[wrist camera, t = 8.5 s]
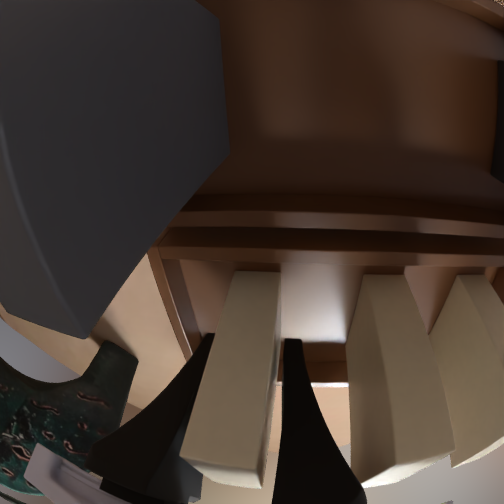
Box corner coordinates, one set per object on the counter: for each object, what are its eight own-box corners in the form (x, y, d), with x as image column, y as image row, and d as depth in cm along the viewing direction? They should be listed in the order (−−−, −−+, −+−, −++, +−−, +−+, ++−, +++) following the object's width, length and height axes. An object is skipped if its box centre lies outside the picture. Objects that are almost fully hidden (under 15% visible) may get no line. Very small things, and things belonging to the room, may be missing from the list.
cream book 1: (281, 271, 12) (255, 469, 5) (280, 344, 14) (262, 489, 8) (234, 269, 12) (177, 455, 5) (244, 342, 15) (213, 482, 8)
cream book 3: (484, 273, 10) (548, 408, 3) (450, 339, 13) (481, 457, 6) (456, 274, 10) (520, 424, 4) (424, 342, 13) (451, 468, 7)
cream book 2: (404, 274, 11) (456, 450, 4) (379, 344, 14) (394, 483, 7) (363, 273, 11) (395, 465, 5) (345, 345, 14) (349, 489, 7)
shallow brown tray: (512, 235, 9) (532, 256, 7) (453, 352, 14) (461, 374, 12) (163, 222, 12) (143, 246, 10) (200, 352, 17) (192, 376, 15)
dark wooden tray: (533, 45, 3) (559, 48, 2) (517, 221, 9) (537, 241, 7) (133, -2, 6) (106, -11, 5) (159, 205, 11) (138, 227, 10)
